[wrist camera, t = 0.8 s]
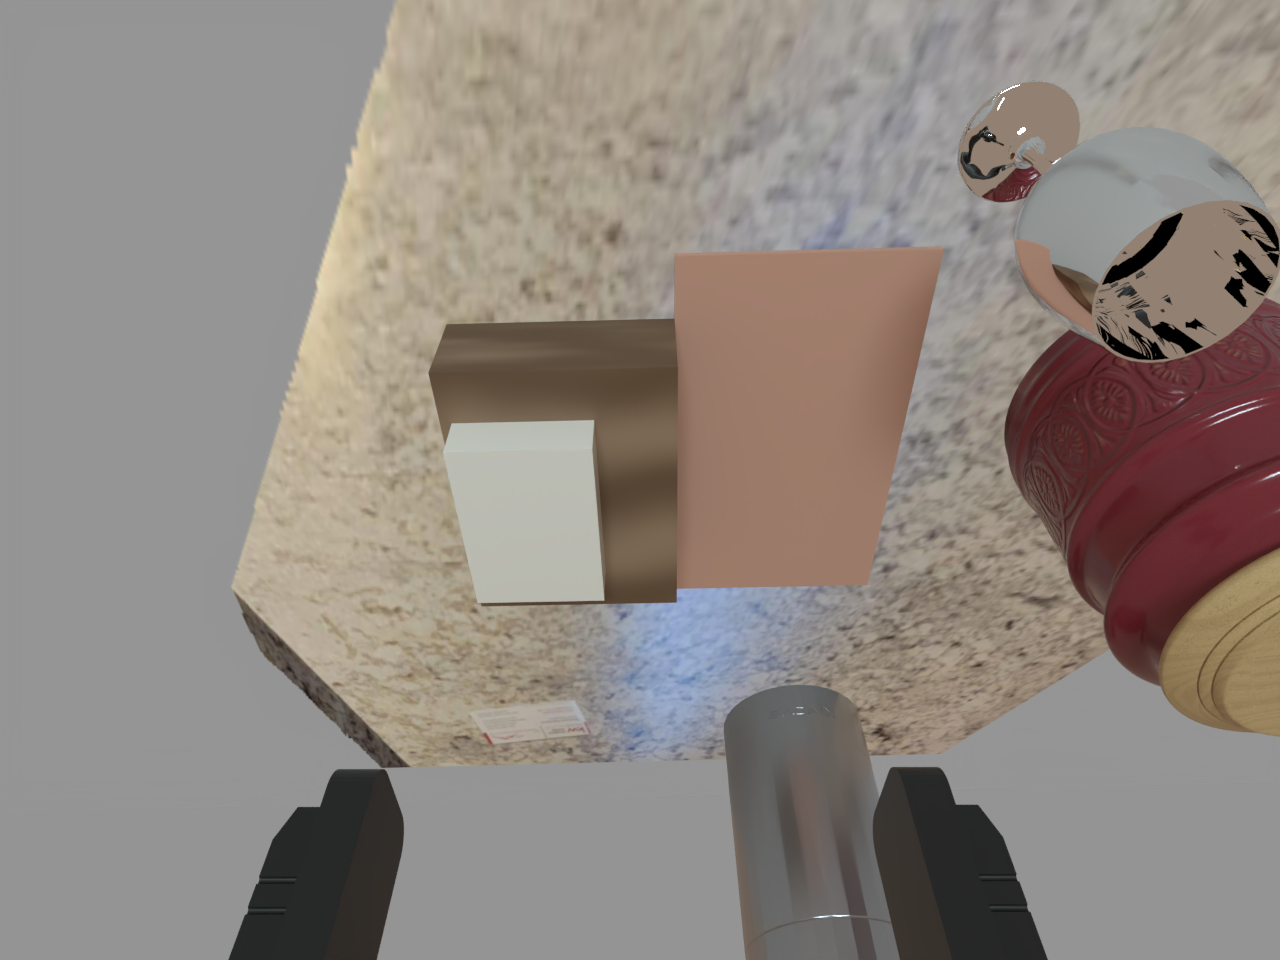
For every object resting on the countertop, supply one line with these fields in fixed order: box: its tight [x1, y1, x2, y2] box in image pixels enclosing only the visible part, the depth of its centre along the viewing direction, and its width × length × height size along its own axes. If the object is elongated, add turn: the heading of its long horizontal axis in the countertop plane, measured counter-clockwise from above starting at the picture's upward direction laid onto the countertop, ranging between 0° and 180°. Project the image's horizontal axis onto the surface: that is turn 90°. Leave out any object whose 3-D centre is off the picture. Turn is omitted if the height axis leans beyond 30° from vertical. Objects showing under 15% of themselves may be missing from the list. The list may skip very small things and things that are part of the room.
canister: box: [1004, 298, 1280, 737], centre depth 31 cm, size 13×13×18 cm
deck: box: [428, 319, 678, 606], centre depth 38 cm, size 14×10×4 cm
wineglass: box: [957, 80, 1280, 363], centre depth 26 cm, size 6×6×12 cm
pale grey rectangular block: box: [443, 420, 606, 603], centre depth 36 cm, size 9×6×2 cm, turn 1°
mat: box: [674, 246, 944, 589], centre depth 39 cm, size 20×11×1 cm, turn 2°
